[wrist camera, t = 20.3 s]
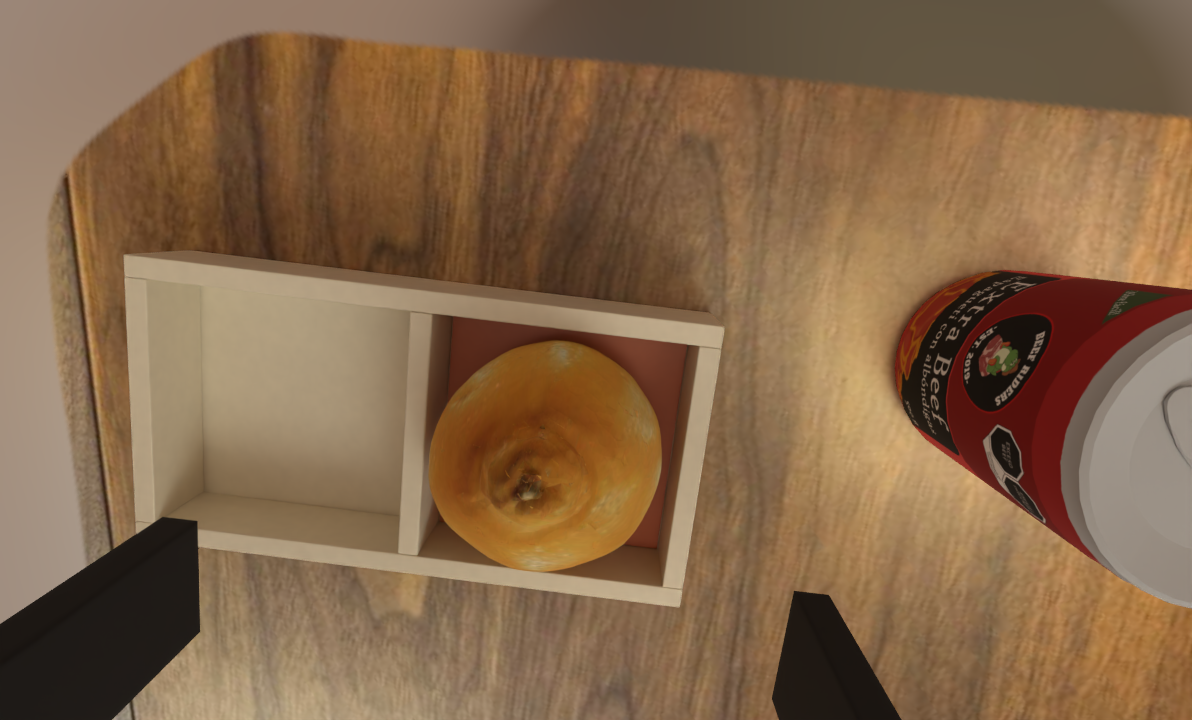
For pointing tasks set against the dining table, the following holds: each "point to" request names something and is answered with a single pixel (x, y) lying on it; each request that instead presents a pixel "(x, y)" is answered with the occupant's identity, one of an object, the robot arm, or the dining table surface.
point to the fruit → (546, 457)
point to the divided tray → (377, 411)
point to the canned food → (1067, 409)
